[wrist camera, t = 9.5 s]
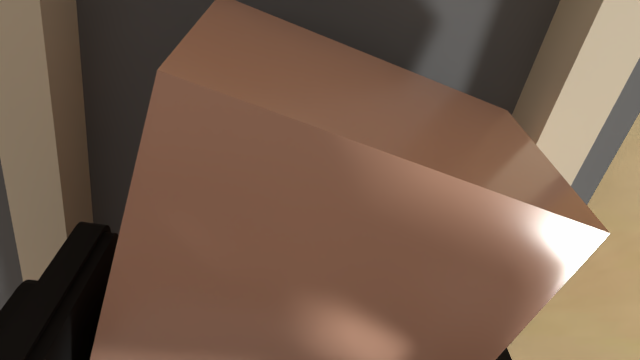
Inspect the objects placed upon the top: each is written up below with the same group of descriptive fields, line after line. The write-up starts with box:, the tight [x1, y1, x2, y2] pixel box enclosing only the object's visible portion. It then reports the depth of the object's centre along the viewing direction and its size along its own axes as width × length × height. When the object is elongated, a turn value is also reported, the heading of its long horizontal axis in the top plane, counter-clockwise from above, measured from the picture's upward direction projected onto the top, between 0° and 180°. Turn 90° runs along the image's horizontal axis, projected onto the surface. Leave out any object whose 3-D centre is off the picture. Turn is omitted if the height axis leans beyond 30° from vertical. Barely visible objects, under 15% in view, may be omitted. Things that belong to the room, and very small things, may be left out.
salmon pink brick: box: [90, 0, 610, 360], centre depth 10 cm, size 6×11×4 cm, turn 158°
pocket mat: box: [0, 0, 640, 310], centre depth 13 cm, size 20×16×2 cm
